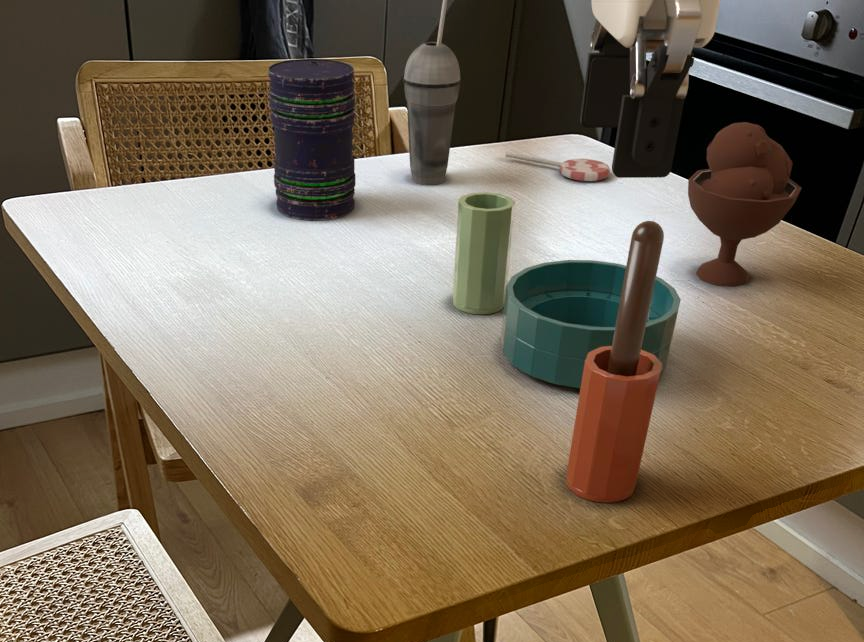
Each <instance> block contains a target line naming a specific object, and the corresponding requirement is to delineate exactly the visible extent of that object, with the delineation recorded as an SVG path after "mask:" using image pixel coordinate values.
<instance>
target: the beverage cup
mask: <svg viewBox="0 0 864 642" xmlns="http://www.w3.org/2000/svg"><path fill="white" fill-rule="evenodd" d="M447 6H448V0H442V5H441V10H440V11H441V12H440V19H439V24H438V32H437V40H436V41H427V42H424V43H422V44H420V45H419V46H417V47H416V48H415V49H414V50H413V51H412V52H411V54H410V55H409V57H408V58H407V61H406V64H405V67H404V74H403V78H402V82H403V84H404V85H403V86H404V87H403V89H404V97H405V101H406V109H407V111H406V113H407V130H408V131H407V132H408V133H407V134H408V150H409V151H408V153H409V168H410V178H411V179H410V181H412V182H413V183H415V184H419V185H425V186H427V185H428V186H432V185H440V184H442V183H444V182H445V181H446V175H447V170H448V167H449V159H450V151H451V150H450V149H451V143H452V135H453V129H454V120H455V112H456V103H457V101H458V97H459V93H460V87H461V84H462V78H461V69H460V65H459V61H458V59H457V57H456V54H455V53H454V52H453V50H452V49H451V48H450V47H448V46H447V45H446V44H444V43H442V41H443V34H444V26H445V19H446V13H447Z"/></svg>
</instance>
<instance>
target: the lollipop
mask: <svg viewBox="0 0 864 642" xmlns="http://www.w3.org/2000/svg"><path fill="white" fill-rule="evenodd" d="M505 157H506V158H510V159H511V158H512V159H517V160H520V161H521V160H522V161H527V162H532V163H537V164H541V165H548V166H552V167H557V168H559V173H560V175H562V176H563V177H566V178H568V179H570V180H575V181H581V182H595V181H596V182H597V181H601V180H604V179H607V178H608V177H609V176H610V173H611V168H610V165H608V164H607V163H605V162H603V161H600V160H597V159H593V158H572V159H568V160H565V161H562V162H560V161H556V160H550V159H543V158H539V157H534V156H529V155H524V154H519V153H514V152H508V151H506V152H505Z"/></svg>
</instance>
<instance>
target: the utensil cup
mask: <svg viewBox="0 0 864 642" xmlns="http://www.w3.org/2000/svg"><path fill="white" fill-rule="evenodd" d="M611 348H612V346H604V347H599V348H597V349H595V350H593V351H591V352H589V353H588V355H587V357H586V360H585V364H584V370H583V376H582V382H581V388H579V394H578V395H579V396H578V401H577V406H576V413H575V420H574V426H573V432H572V437H571V445H570V449H569V457H568V463H567V468H566V475H565V476H566V479H565V481H566V482H565V483H566V485H567V487H568V489H569V490H570V491H571V492H572V493H574V494H575V495H576V496H579V497H580V498H583V499H585V500H587V501H592V502H595V503H607V504H608V503H618V502H621V501H623V500H624V501H625V500H626V499H628V498H629V497H631V496H632V495H633V494H634V492H635V489H636V486H637V481H638V478H639V472H640V468H641V463H642V458H643V455H644V450H645V445H646V441H647V437H648V436H647V435H648V432H649V427H650V423H651V418H652V414H653V410H654V404H655V400H656V396H657V391H658V386H659V382H660V378H661V373H662V371H661V369H662V363H661V362H660V361H659V359H658V358H657V357H656V356H655V355H653V354H651V353H649V352H646V351H644V350H642V349H641V353H640V358H639V363H638V368H637V373H636V376H621V375H615V374H610V373H608V372H607V370H608V365H609V359H610V354H611Z"/></svg>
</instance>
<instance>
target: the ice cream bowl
mask: <svg viewBox="0 0 864 642" xmlns="http://www.w3.org/2000/svg"><path fill="white" fill-rule="evenodd" d="M705 159H706V162H707V164H708V168H704V169H700V170H699V169H698V170H697V171H695V172H694V174H693V175H691V176H690V177H689V178H688V181H687V196H688V201H689V206H690V208H691V210H692V211H693V213H694V214H695V216H696V218H697V220H698V221H700V223H701V224H702V225H703V226H704V227H705V228H706V229H708V230H709V232H710V233H712V234H713V235H715V236H717V237H719V239H720V247H719V252H718V255H717V257H716V258H714V259H711V260H708V261H706V262H703V263H701V265H700V266H699V267H698V268H697V270H696V271H695V273H694V274H695V275H696V276H697V278H699V280H701V281H702V282H706V283H709V284H711V285H714V286H723V287H724V286H725V287H734V286H740V285H744V284H746V282H747V281H748V280H749V272H748V271H747V270H746V269H745V268H744V267H743V266H742V265H741V264H739V263H738V262H737V261H735V260H736V254H737V251H738V246H739V244H740V243H741V241H743V240H748V239H752V238H756V237H759V236H761V235H763V234H765V233H767V232H769V231H770V230H771V229H773V228H774V227H776V226H778V225H779V224H780V223H781V222H782V220H783V219H784V217H786V215H787V214H788V212H789V211H790V210H791V209H792V207H793V206H794V204H795V203H796V201H797V199H798V197H799V195H800V192H801V190H802V186H800V185H799V184H797V183H796V182H795V181H794V180H792V179H791V178H790V177H791V173H792V168H793V164H794V163H793V161H792V160H791V157H790V156H789V155H788V153H787V152H786V150H785V149H784V148H783V146H782V145H781V144H779V143H778V142H776V141H775V140H774V139H772V138H770V137H769V135H768V134H767V133H766V130H765V129H764V128H763V127H762V126H760V124H755V123H751V122H747V121H746V122H745V121H742V122H733V123H731V124H729V125H726V126H725V127H723V128H722V129H720V130H719V131H718V132H717V133H716V134H715V136H714V138H713V139H712V140H711V141H710V143H709V144H708V145H707V148H706V158H705Z"/></svg>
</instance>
